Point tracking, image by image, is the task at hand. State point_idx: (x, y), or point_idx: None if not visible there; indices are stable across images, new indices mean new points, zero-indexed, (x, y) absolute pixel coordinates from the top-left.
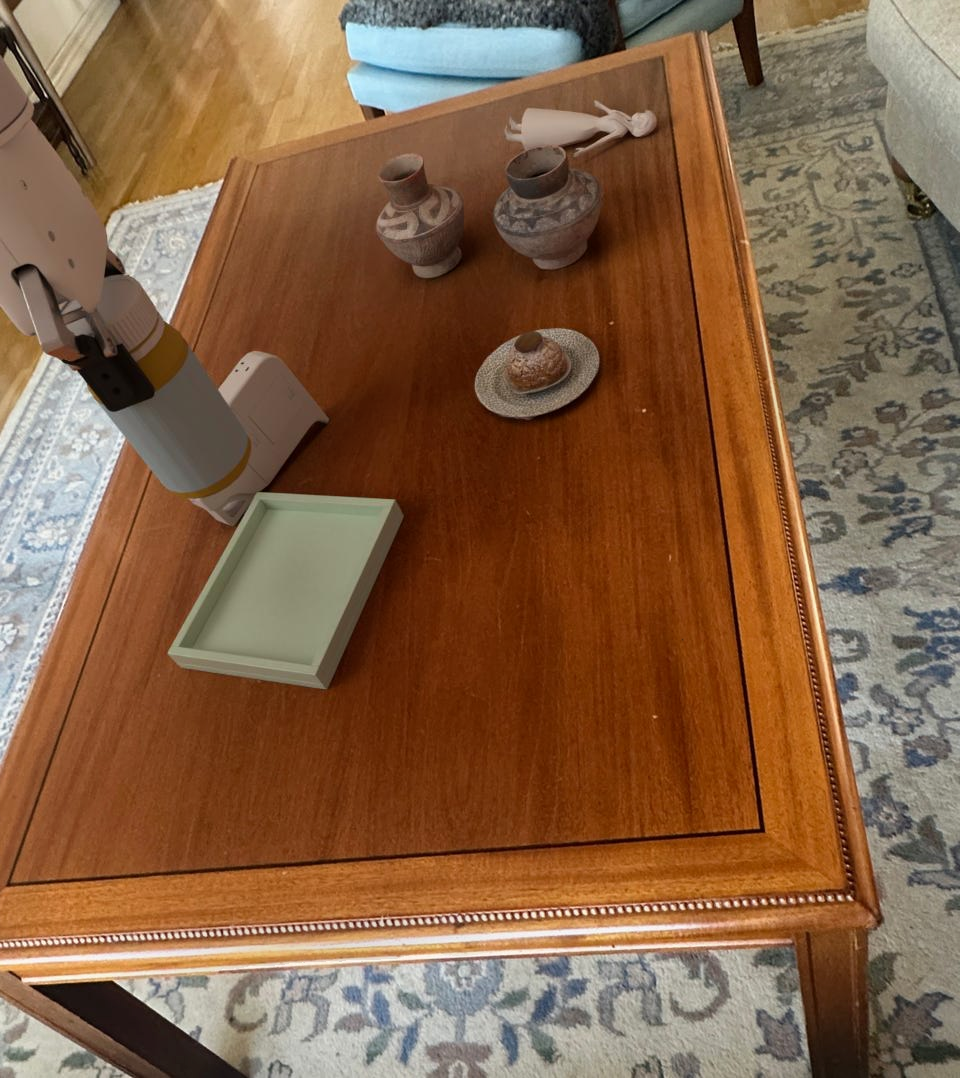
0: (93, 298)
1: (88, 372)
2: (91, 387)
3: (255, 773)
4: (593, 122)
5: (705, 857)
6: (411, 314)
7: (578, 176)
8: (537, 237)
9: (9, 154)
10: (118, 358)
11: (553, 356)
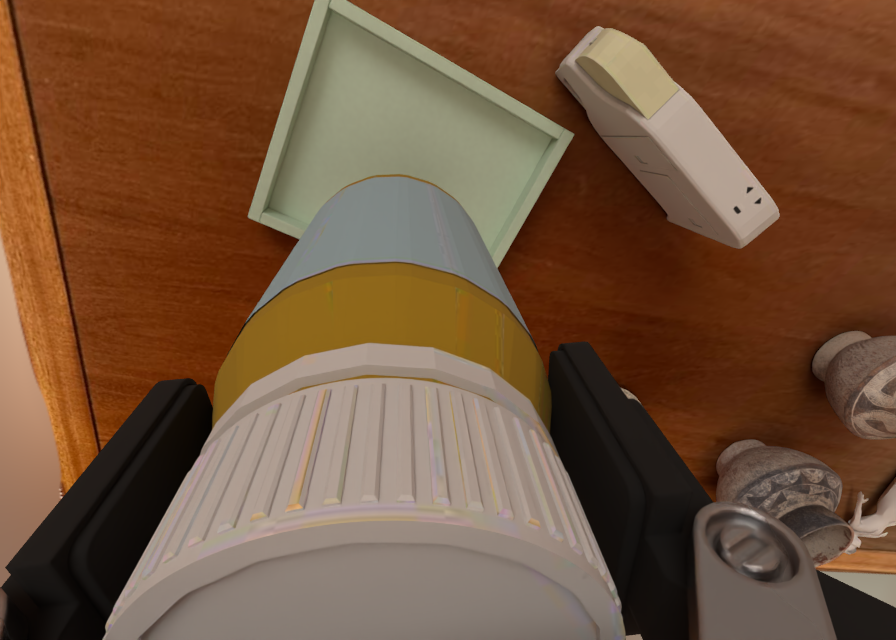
0: None
1: (5, 588)
2: (101, 457)
3: (152, 119)
4: (888, 518)
5: (86, 468)
6: (778, 323)
7: None
8: (736, 493)
9: None
10: None
11: None
